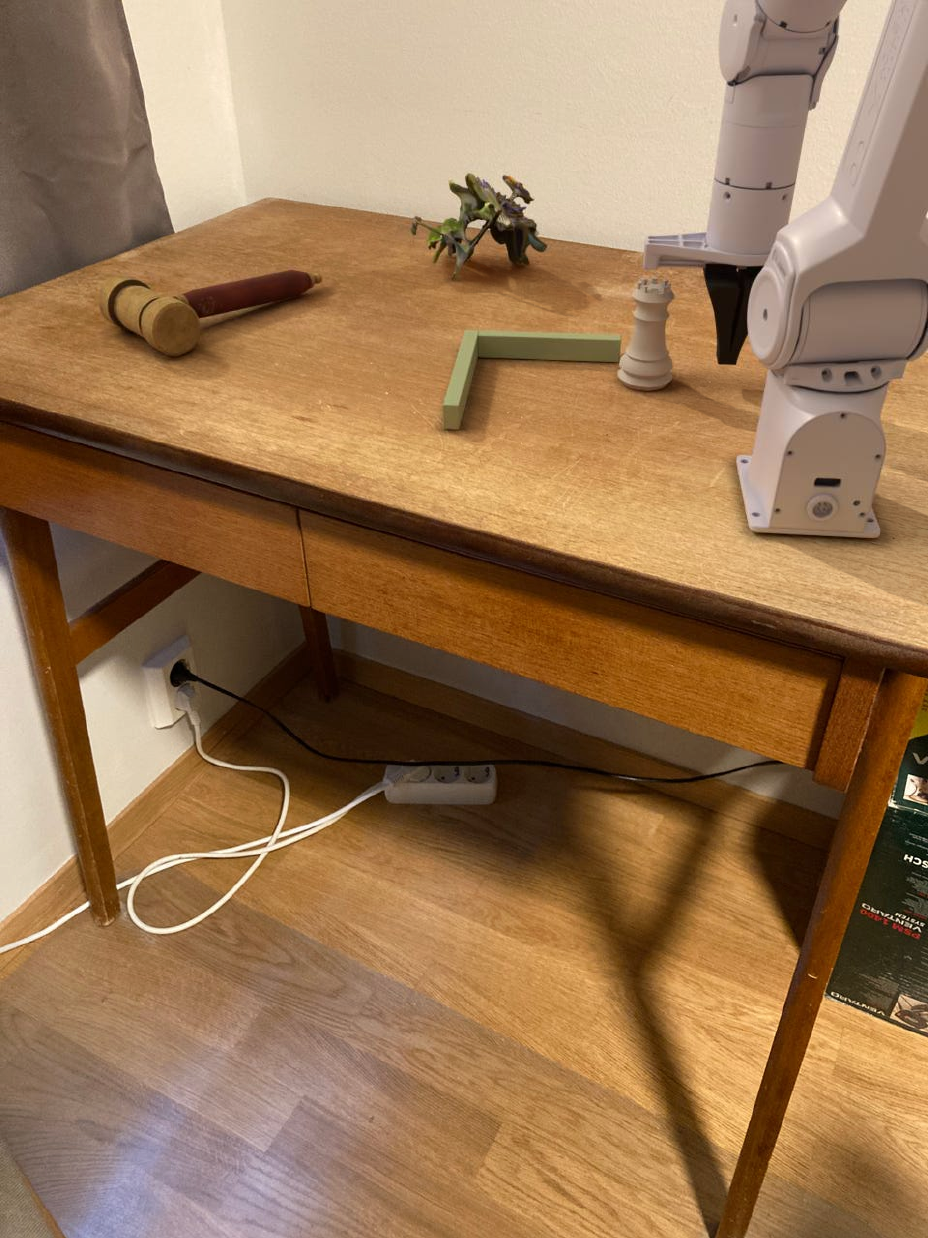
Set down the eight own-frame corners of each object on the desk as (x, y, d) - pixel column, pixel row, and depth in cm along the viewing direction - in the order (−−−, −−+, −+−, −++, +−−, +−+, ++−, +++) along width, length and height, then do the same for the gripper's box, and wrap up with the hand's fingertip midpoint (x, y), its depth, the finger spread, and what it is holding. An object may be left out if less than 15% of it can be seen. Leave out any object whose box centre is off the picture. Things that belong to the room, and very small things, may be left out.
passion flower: (512, 316, 107) (576, 234, 98) (436, 323, 100) (497, 236, 91) (463, 233, 110) (521, 146, 100) (385, 235, 103) (439, 142, 94)
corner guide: (620, 436, 74) (622, 412, 73) (443, 429, 75) (442, 404, 74) (619, 356, 85) (621, 334, 84) (465, 351, 87) (465, 329, 85)
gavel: (290, 242, 100) (351, 265, 94) (293, 288, 103) (352, 313, 97) (93, 278, 88) (149, 308, 82) (102, 329, 91) (156, 361, 85)
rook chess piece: (606, 375, 82) (614, 278, 77) (652, 365, 84) (662, 269, 79) (635, 396, 79) (646, 296, 74) (682, 385, 81) (695, 287, 76)
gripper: (849, 166, 74) (811, 342, 82) (650, 162, 75) (633, 336, 83) (868, 192, 68) (826, 379, 76) (653, 188, 70) (634, 372, 78)
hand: (726, 359), depth 80 cm, fingers closed
